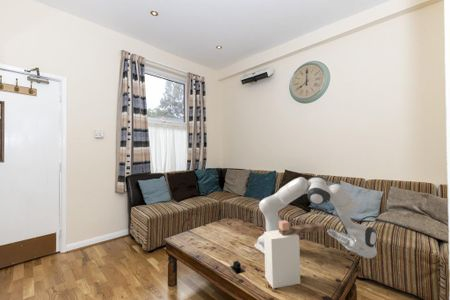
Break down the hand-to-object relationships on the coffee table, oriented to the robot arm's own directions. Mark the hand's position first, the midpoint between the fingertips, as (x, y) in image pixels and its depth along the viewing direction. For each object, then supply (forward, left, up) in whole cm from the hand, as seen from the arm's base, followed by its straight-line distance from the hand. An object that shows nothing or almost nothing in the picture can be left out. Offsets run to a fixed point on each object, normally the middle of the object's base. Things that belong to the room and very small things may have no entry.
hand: (333, 234), depth 123 cm
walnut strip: (-9, -18, +4) cm, 21 cm away
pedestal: (-14, -30, -22) cm, 40 cm away
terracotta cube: (-13, -28, +7) cm, 32 cm away
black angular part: (-39, -42, -23) cm, 62 cm away
